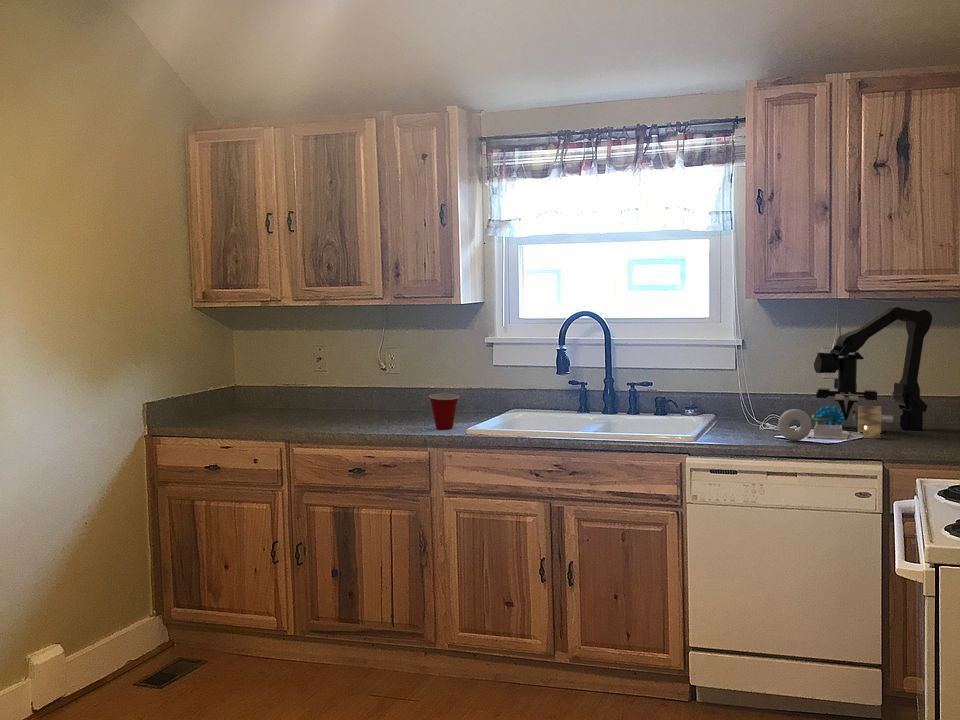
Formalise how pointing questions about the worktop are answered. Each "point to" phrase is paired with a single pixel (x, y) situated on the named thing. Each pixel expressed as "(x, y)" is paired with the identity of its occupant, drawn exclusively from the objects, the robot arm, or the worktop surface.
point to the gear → (828, 416)
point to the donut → (794, 415)
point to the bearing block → (868, 416)
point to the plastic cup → (444, 409)
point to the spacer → (871, 431)
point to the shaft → (883, 418)
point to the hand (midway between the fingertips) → (846, 420)
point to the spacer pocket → (828, 432)
